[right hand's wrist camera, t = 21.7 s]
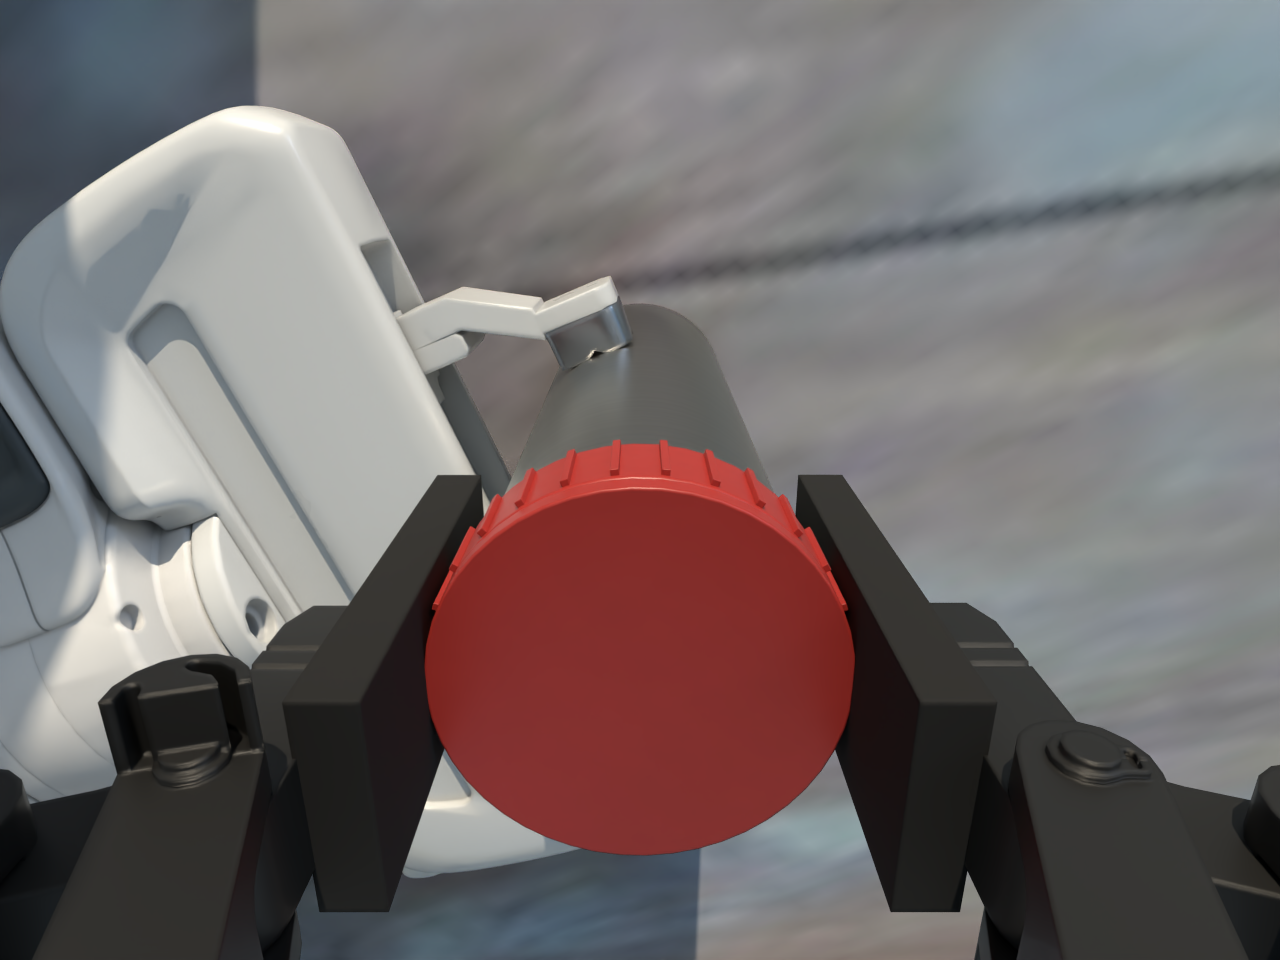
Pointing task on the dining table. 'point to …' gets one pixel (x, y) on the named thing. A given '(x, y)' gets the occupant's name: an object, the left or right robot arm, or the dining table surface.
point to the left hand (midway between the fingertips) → (672, 427)
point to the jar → (643, 399)
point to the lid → (639, 652)
